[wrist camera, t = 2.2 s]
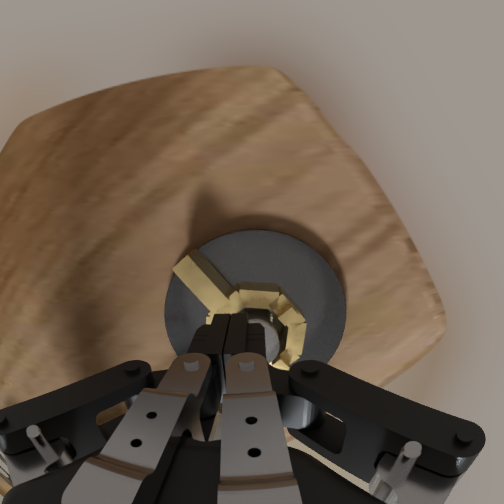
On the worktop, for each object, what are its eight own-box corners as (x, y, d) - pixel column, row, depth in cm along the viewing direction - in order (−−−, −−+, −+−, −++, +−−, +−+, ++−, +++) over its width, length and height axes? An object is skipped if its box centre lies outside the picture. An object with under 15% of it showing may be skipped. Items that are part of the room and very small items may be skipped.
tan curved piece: (318, 328, 32) (325, 345, 28) (250, 376, 34) (250, 396, 30) (224, 221, 30) (219, 225, 26) (157, 283, 32) (144, 294, 27)
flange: (247, 411, 37) (245, 444, 30) (135, 306, 34) (111, 329, 27) (372, 323, 34) (394, 347, 27) (265, 189, 31) (268, 186, 24)
